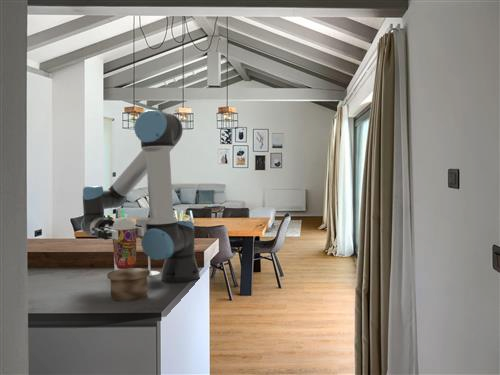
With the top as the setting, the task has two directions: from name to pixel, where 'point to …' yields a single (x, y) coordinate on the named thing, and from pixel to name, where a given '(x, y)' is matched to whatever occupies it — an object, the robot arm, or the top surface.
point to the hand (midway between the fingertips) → (130, 233)
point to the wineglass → (141, 223)
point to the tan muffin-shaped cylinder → (128, 284)
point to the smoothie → (125, 242)
